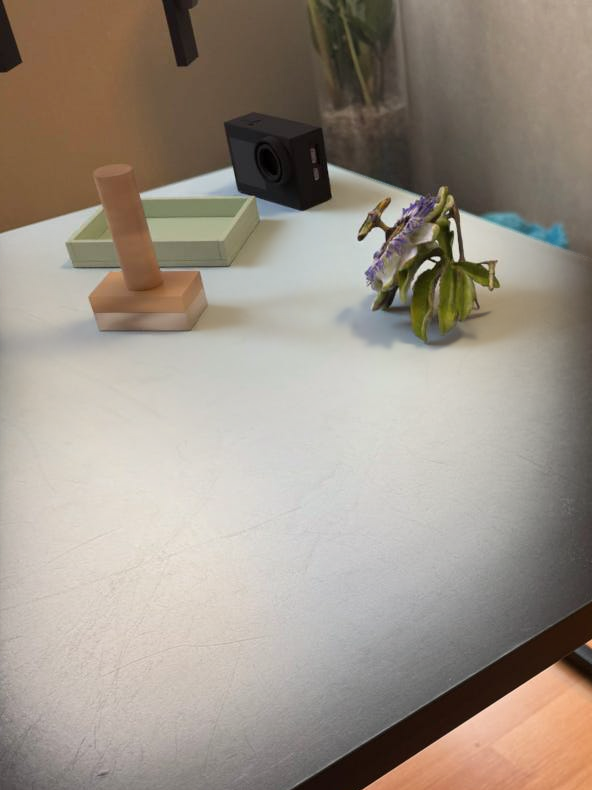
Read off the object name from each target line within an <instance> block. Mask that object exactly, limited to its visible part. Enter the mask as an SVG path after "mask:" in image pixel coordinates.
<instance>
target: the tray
mask: <svg viewBox="0 0 592 790" xmlns="http://www.w3.org/2000/svg"><path fill="white" fill-rule="evenodd" d="M140 198H141V202H142V205H143V209H144V213H145V216H146V220H147V224H148V227H149V231H150V235H151V238H152V242H153V246H154V249H155V253H156V257H157V261H158V264H159V268H161V267H162V268H164V267H165V268H167V267H168V268H169V267H172V268H174V267H177V268H178V267H181V268H182V267H184V268H185V267H230V265H231V264H232V262H234V260H235V258H236V257H237V255H238V253H240V251H241V249H242V247H243V246H244V245H245V243H246V242H247V240H248V239H249V238H250V236H251V234H252V233H253V232H254V230H255V228H256V227H257V225H258V224H259V222H260V221H261V218H260V213H259V207H258V203H257V197H255V196H252V195H227V196H223V195H220V196H218V195H217V196H216V195H215V196H161V197H160V196H159V197H156V196H155V197H153V196H152V197H140ZM64 244H65V247H66V250H67V253H68V256H69V259H70V261H71V262H70V263H71V265H72V267H73V268H121V267H120V263H119V260H118V257H117V253H116V250H115V247H114V243H113V240H112V237H111V233H110V230H109V227H108V223H107V220H106V217H105V213H104V210H103V206H102V205H100V206H99V208H98V209H96V210H95V212H93V214H91V216H90V217H88V218H87V219H86V221H85V222H84V223H83V224H81V226H80V227H79V228H77V229H76V230H75V231H74V233H72V235H71V236H70V237H68V238H67V240H65V241H64Z"/></svg>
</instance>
